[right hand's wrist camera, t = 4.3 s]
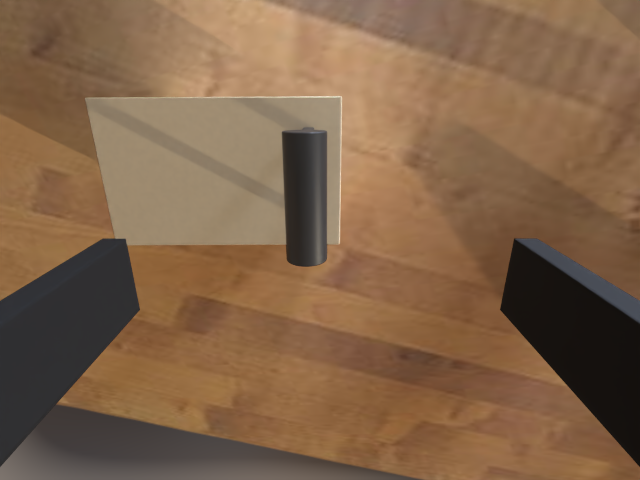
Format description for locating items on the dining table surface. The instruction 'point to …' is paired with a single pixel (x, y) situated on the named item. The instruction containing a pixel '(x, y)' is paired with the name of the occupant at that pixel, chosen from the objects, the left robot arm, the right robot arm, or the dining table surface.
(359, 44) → the dining table surface
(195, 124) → the lid
